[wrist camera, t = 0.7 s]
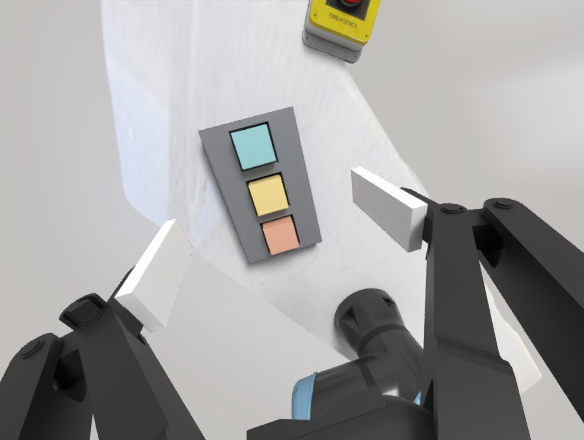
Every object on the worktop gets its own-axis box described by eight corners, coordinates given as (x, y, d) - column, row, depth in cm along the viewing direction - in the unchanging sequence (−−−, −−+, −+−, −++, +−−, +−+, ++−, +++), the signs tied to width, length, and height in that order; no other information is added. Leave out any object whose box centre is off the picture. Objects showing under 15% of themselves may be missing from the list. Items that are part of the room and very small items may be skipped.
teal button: (274, 158, 33) (276, 160, 30) (244, 167, 33) (243, 169, 30) (265, 125, 31) (266, 124, 28) (233, 134, 31) (230, 133, 28)
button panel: (317, 235, 41) (322, 241, 39) (250, 255, 41) (249, 263, 38) (289, 109, 33) (292, 106, 30) (203, 132, 32) (198, 131, 29)
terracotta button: (296, 239, 39) (299, 246, 36) (270, 247, 38) (271, 255, 36) (289, 215, 37) (292, 221, 34) (262, 223, 37) (263, 229, 34)
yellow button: (286, 202, 36) (288, 207, 33) (258, 210, 36) (258, 216, 33) (278, 174, 34) (280, 177, 31) (249, 182, 34) (248, 186, 31)
